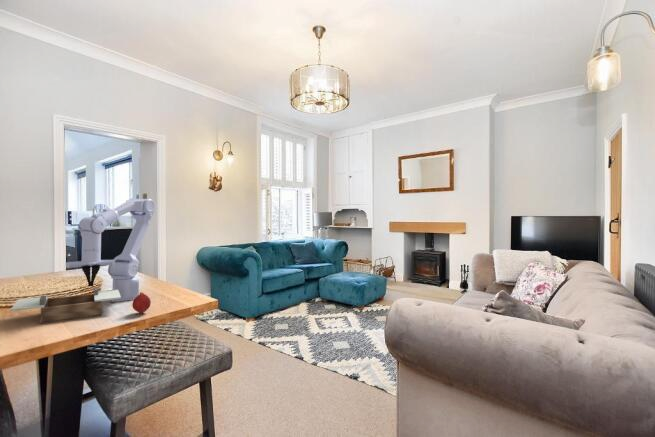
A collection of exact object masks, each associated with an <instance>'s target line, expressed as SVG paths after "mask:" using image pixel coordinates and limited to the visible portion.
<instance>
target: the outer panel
mask: <svg viewBox="0 0 655 437" xmlns="http://www.w3.org/2000/svg"><path fill="white" fill-rule="evenodd" d="M48 298H49V297H48V296H46V295H41V296H36V297H28V298H19V299H16V301H15V302H14V304H13V305H12V307H11V308H10V312H16V311H18V312H19V311H25V310H35V309H41V308H44V306H45V304H46V301H47V299H48Z"/></svg>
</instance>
